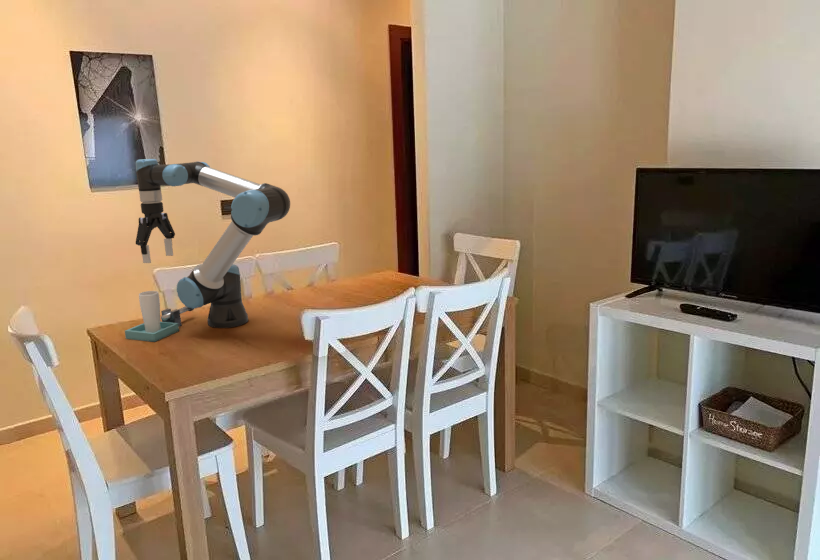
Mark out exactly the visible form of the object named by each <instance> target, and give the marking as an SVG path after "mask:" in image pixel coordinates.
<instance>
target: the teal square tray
mask: <svg viewBox="0 0 820 560" xmlns="http://www.w3.org/2000/svg"><path fill="white" fill-rule="evenodd" d="M160 326H161V330H159V331H157V332H155V333H149V332H145V326H144V322H143V323H141V324H138V325H135V326H132V327H131V328H128V329H126V330H124V334H125V336H124V337H125V340H132V341H133V340H134V341H143V342H150V343H156V342H159V341H160V340H163V339H165V338H167V337H169V336H171V335H174V334H175V333H179V332H180V327H179V325H178V323H170V322H162V320H160Z"/></svg>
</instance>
